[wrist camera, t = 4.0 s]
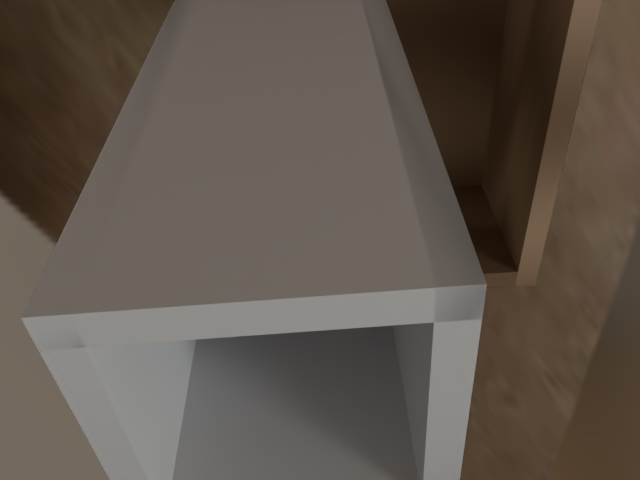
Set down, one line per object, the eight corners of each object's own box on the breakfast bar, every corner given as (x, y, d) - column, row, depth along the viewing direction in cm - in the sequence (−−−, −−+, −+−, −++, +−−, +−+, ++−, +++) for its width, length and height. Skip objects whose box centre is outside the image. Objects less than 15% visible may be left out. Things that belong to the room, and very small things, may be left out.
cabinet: (486, 174, 23) (535, 285, 18) (278, 187, 23) (273, 300, 18) (537, -181, 16) (638, -150, 11) (238, -162, 16) (213, -122, 11)
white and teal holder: (379, 377, 15) (424, 728, 10) (263, 386, 15) (245, 738, 10) (372, -39, 9) (487, 283, 4) (179, -22, 9) (5, 319, 4)
